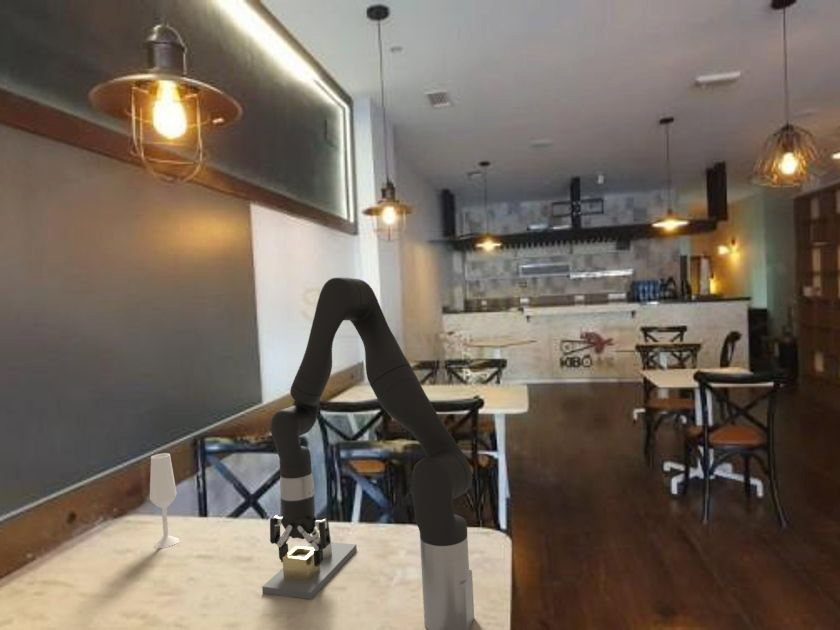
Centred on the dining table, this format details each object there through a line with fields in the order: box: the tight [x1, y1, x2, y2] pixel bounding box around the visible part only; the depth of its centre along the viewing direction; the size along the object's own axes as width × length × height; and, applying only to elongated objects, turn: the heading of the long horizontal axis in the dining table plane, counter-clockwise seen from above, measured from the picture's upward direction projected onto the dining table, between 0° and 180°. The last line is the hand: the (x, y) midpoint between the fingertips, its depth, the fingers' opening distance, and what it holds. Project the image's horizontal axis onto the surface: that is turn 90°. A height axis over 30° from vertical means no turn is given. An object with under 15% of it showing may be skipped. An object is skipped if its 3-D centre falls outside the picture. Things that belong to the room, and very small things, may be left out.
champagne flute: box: [149, 452, 180, 549], centre depth 156 cm, size 7×7×24 cm
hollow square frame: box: [282, 545, 320, 582], centre depth 132 cm, size 6×6×5 cm
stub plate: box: [261, 534, 358, 600], centre depth 136 cm, size 12×24×6 cm, turn 162°
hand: (301, 563), depth 132 cm, fingers open, 8 cm apart
